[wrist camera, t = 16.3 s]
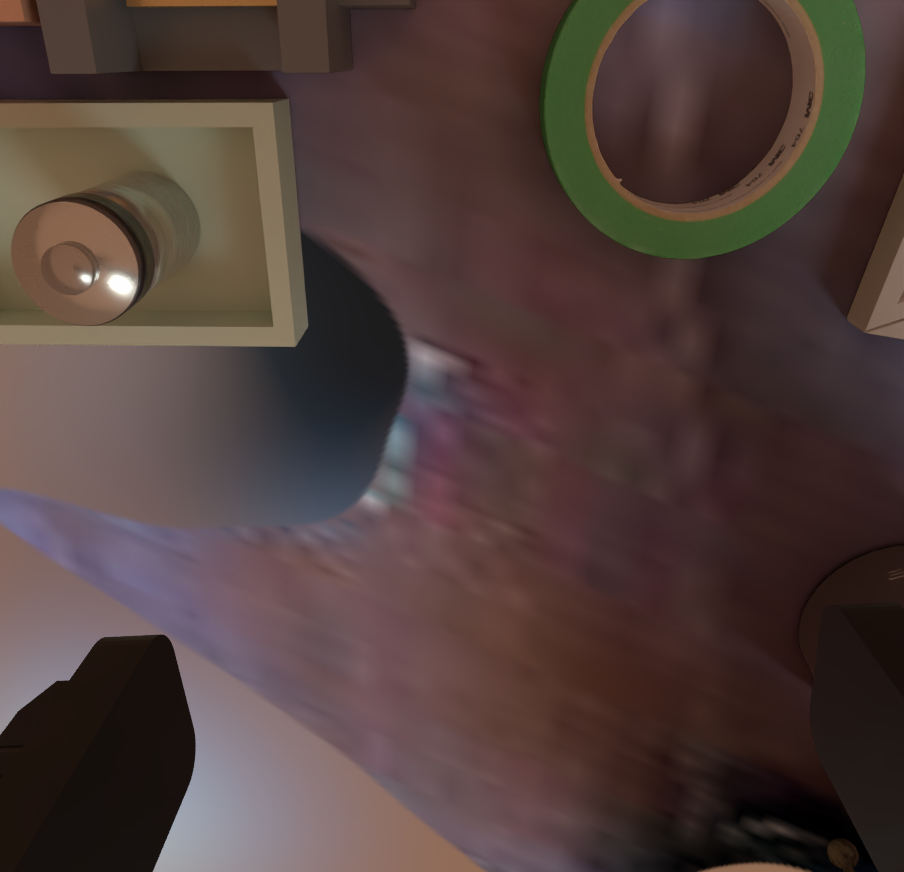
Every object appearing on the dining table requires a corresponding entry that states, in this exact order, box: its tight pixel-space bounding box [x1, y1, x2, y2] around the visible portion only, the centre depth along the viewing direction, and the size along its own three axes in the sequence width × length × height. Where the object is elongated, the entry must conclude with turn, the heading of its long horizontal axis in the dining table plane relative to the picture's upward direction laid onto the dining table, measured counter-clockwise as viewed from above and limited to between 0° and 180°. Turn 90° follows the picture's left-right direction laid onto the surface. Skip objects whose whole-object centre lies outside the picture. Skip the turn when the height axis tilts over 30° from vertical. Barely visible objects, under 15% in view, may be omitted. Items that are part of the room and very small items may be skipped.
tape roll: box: [539, 0, 865, 259], centre depth 29 cm, size 11×11×3 cm
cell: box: [11, 171, 201, 326], centre depth 29 cm, size 4×4×8 cm
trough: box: [0, 99, 308, 347], centre depth 31 cm, size 9×14×3 cm, turn 90°
